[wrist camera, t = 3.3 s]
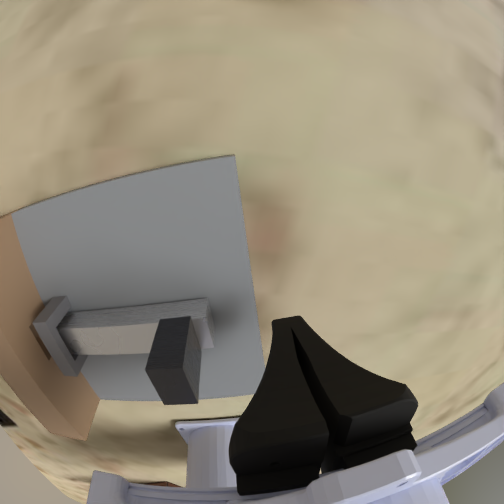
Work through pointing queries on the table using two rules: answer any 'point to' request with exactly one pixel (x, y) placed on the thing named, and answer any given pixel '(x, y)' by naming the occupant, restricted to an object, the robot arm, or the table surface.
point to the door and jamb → (125, 286)
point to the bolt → (149, 341)
